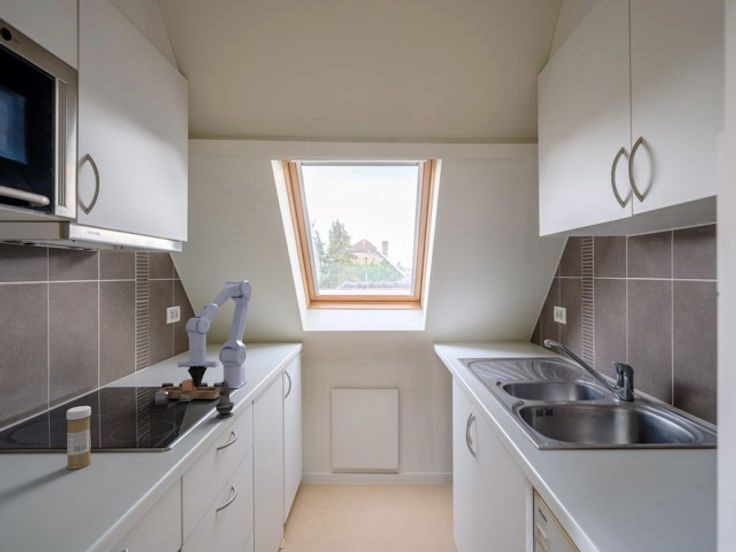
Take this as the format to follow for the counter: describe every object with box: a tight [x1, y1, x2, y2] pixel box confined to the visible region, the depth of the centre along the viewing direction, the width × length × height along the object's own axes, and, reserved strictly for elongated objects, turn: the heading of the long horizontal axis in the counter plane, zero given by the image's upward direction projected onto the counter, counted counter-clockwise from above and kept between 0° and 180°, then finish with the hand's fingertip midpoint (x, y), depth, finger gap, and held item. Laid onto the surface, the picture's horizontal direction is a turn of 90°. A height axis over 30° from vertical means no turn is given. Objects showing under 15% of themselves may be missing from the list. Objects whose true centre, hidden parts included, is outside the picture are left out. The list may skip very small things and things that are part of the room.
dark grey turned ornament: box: [214, 378, 235, 419], centre depth 122 cm, size 6×6×12 cm
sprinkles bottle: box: [66, 405, 92, 470], centre depth 89 cm, size 5×5×14 cm
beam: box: [155, 386, 220, 403], centre depth 140 cm, size 22×7×4 cm, turn 86°
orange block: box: [181, 378, 197, 391], centre depth 140 cm, size 4×3×4 cm
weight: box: [154, 391, 169, 407], centre depth 135 cm, size 4×4×4 cm
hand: (197, 386), depth 140 cm, fingers closed
